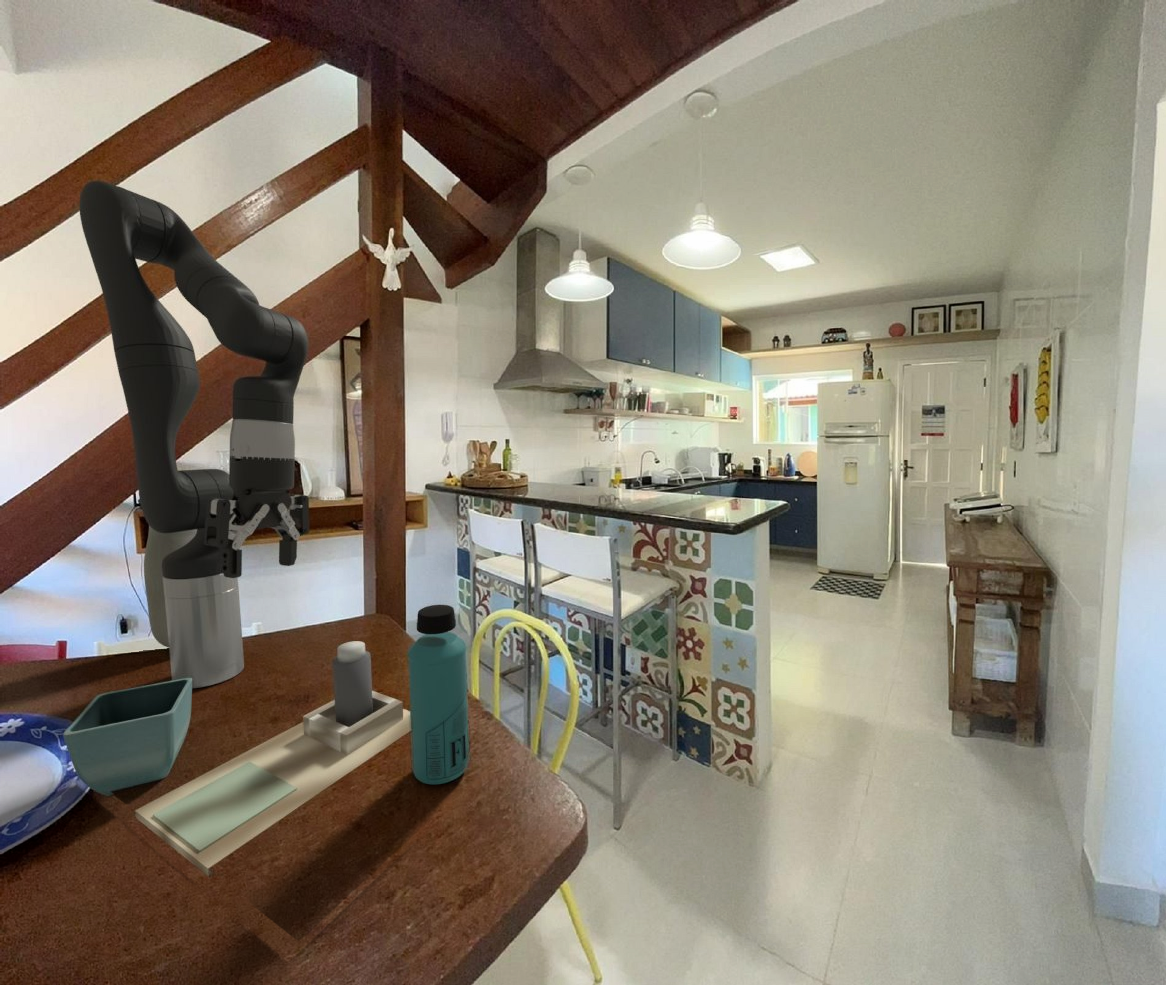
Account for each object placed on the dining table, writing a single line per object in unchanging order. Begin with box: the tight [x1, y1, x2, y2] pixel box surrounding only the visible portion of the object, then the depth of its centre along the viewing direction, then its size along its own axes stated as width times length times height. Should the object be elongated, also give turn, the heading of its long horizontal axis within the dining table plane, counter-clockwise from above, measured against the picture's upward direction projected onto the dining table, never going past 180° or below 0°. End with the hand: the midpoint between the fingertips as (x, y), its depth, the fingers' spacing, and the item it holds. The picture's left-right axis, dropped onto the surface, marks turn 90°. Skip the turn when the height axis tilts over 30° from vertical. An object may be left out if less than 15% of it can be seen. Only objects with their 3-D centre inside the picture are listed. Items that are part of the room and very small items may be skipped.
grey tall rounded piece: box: [143, 525, 197, 648], centre depth 87 cm, size 10×10×28 cm
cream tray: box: [134, 690, 411, 877], centre depth 57 cm, size 14×26×3 cm, turn 152°
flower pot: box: [62, 678, 193, 797], centre depth 54 cm, size 9×9×9 cm
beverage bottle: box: [407, 604, 471, 785], centre depth 54 cm, size 6×7×20 cm
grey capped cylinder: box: [332, 640, 373, 727], centre depth 63 cm, size 4×4×11 cm
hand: (261, 570), depth 68 cm, fingers open, 8 cm apart
